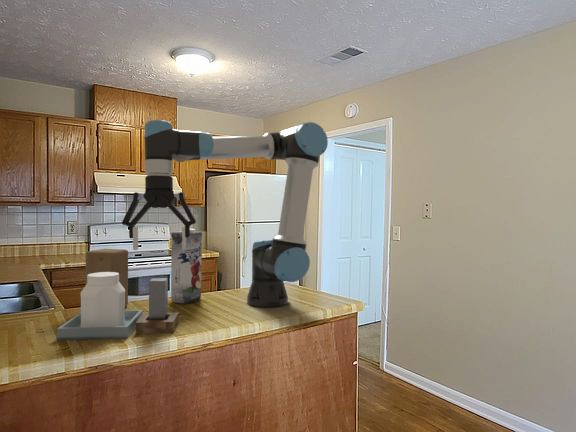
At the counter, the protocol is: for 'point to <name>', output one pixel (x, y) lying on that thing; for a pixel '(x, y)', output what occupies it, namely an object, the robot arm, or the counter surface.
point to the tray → (98, 328)
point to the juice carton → (186, 267)
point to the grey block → (158, 299)
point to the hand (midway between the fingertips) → (160, 249)
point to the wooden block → (109, 264)
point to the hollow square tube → (157, 324)
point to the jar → (103, 301)
